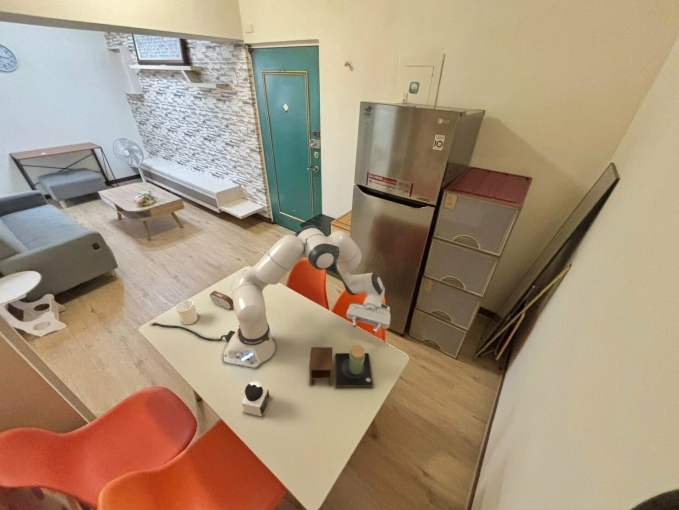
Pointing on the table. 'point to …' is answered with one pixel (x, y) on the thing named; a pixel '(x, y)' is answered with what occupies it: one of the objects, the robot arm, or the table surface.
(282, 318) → the table surface
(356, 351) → the jar
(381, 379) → the table surface
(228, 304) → the tin
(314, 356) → the wooden cubby
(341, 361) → the hot plate
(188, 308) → the white cup
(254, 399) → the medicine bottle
